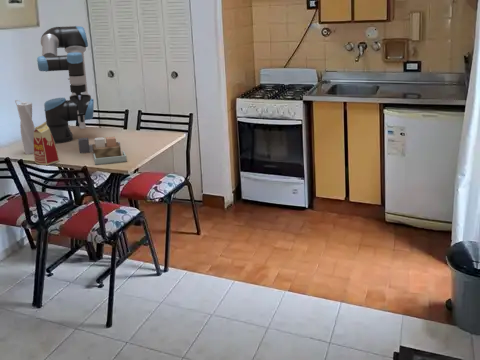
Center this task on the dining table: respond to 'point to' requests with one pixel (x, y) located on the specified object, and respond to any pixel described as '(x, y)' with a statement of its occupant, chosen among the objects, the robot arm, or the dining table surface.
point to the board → (107, 151)
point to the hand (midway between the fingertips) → (81, 125)
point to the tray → (110, 159)
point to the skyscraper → (26, 126)
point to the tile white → (99, 142)
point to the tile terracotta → (110, 141)
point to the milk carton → (44, 146)
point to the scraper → (85, 145)
